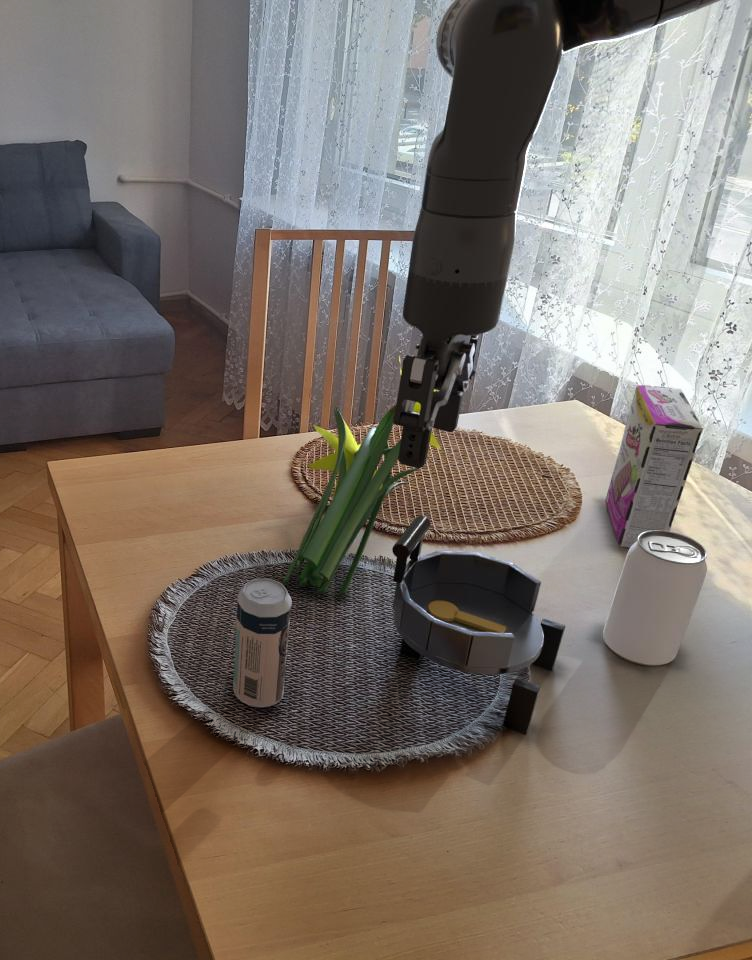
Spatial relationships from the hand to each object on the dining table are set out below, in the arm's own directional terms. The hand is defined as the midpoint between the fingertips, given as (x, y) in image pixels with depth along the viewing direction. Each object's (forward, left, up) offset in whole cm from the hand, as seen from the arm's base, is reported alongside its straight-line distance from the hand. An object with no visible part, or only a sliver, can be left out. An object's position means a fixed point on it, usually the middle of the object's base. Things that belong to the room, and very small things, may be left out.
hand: (428, 446), depth 77 cm
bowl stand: (-7, +1, -22) cm, 24 cm away
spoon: (-6, +1, -17) cm, 18 cm away
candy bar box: (-16, -36, -23) cm, 46 cm away
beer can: (+8, +15, -23) cm, 28 cm away
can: (-20, -12, -23) cm, 33 cm away
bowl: (-6, +1, -17) cm, 18 cm away
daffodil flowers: (+11, -17, -23) cm, 30 cm away
